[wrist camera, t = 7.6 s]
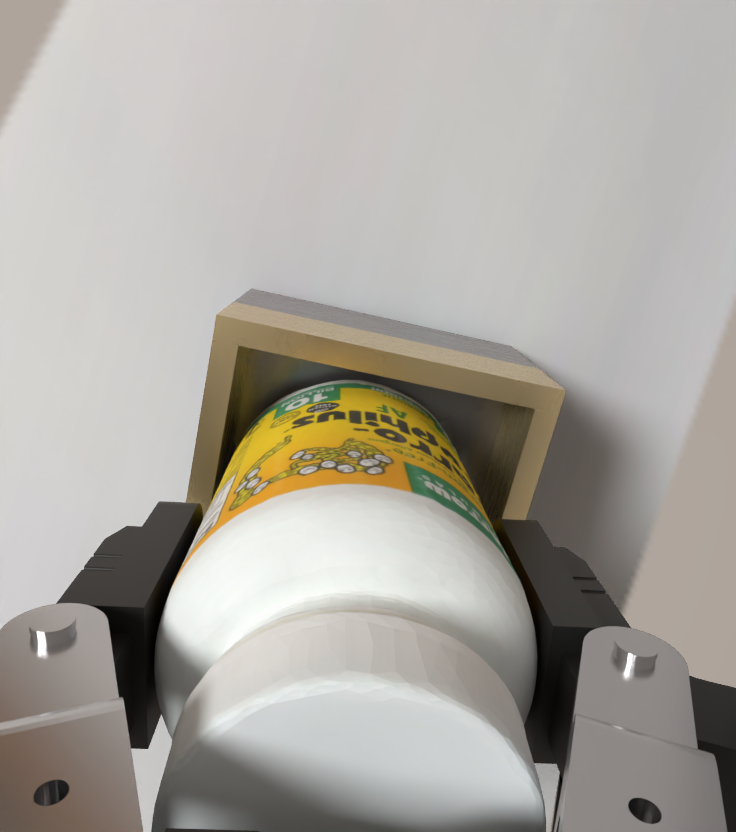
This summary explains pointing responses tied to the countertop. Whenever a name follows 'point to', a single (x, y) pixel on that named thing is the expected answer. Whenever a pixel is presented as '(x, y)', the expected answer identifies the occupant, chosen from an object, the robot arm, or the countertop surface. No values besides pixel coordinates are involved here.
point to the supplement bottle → (347, 635)
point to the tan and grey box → (387, 365)
